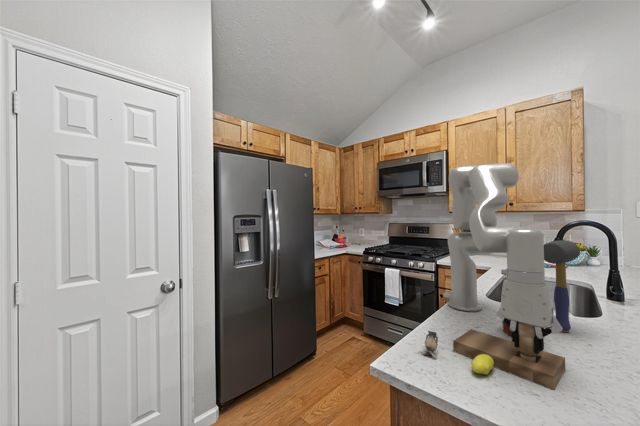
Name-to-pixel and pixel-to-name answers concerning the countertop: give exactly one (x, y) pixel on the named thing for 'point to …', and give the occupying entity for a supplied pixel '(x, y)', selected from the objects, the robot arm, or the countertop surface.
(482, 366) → the lemon
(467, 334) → the board
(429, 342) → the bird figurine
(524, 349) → the dowel
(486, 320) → the countertop surface
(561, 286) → the rubber mallet
